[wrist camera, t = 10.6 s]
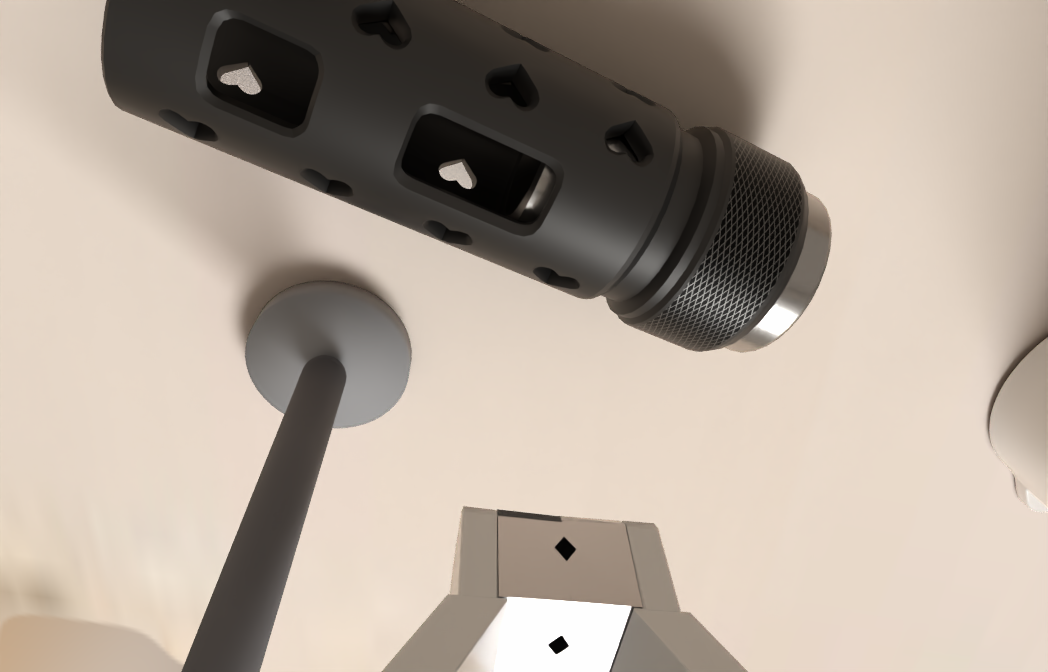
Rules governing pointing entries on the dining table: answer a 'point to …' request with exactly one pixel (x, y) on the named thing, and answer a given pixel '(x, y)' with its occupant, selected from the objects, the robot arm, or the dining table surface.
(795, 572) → the dining table surface
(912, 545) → the dining table surface
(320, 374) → the cord post
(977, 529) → the dining table surface
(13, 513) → the dining table surface
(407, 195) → the muzzle brake
